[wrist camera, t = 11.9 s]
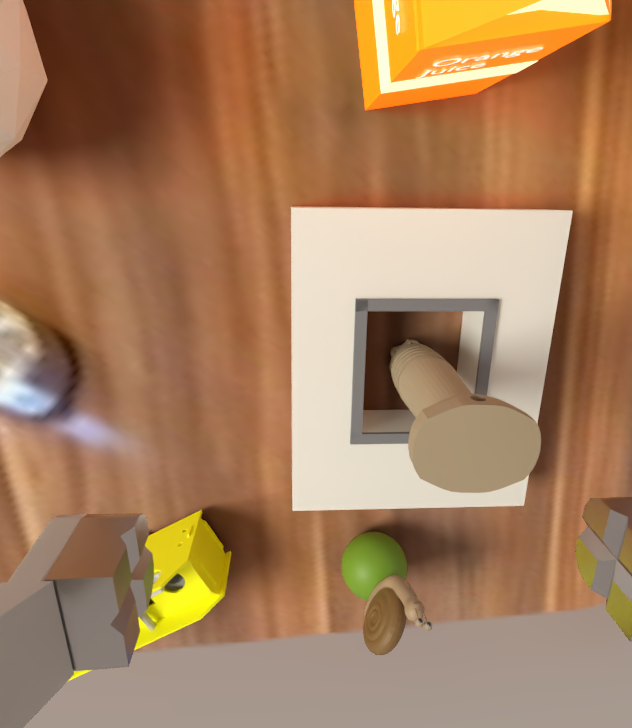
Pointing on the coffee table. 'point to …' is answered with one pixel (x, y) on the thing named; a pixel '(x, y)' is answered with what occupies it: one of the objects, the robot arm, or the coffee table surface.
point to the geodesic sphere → (17, 73)
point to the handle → (460, 426)
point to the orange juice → (460, 43)
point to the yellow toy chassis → (182, 578)
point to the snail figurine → (381, 589)
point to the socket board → (411, 293)
